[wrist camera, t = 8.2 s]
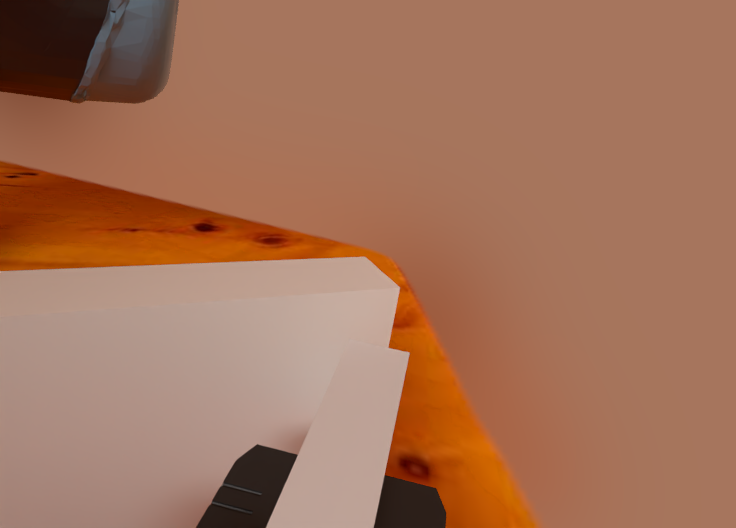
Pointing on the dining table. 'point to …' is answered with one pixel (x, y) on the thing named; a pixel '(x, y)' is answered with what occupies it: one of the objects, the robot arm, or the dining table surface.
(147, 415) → the swing arm
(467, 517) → the dining table surface
